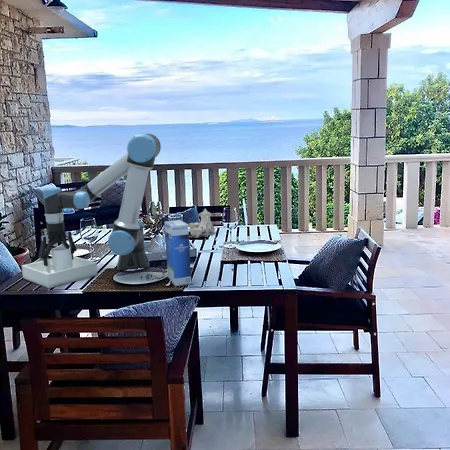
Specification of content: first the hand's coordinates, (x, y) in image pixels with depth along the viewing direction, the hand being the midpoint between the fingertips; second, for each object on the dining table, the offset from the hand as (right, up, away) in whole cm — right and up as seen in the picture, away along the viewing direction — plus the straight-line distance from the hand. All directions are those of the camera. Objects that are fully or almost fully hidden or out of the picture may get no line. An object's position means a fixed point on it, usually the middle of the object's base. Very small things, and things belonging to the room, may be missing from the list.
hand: (59, 269), depth 226 cm
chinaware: (+61, +14, +83) cm, 104 cm away
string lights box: (+56, -4, -12) cm, 57 cm away
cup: (0, -1, 0) cm, 1 cm away
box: (0, -3, +1) cm, 3 cm away
